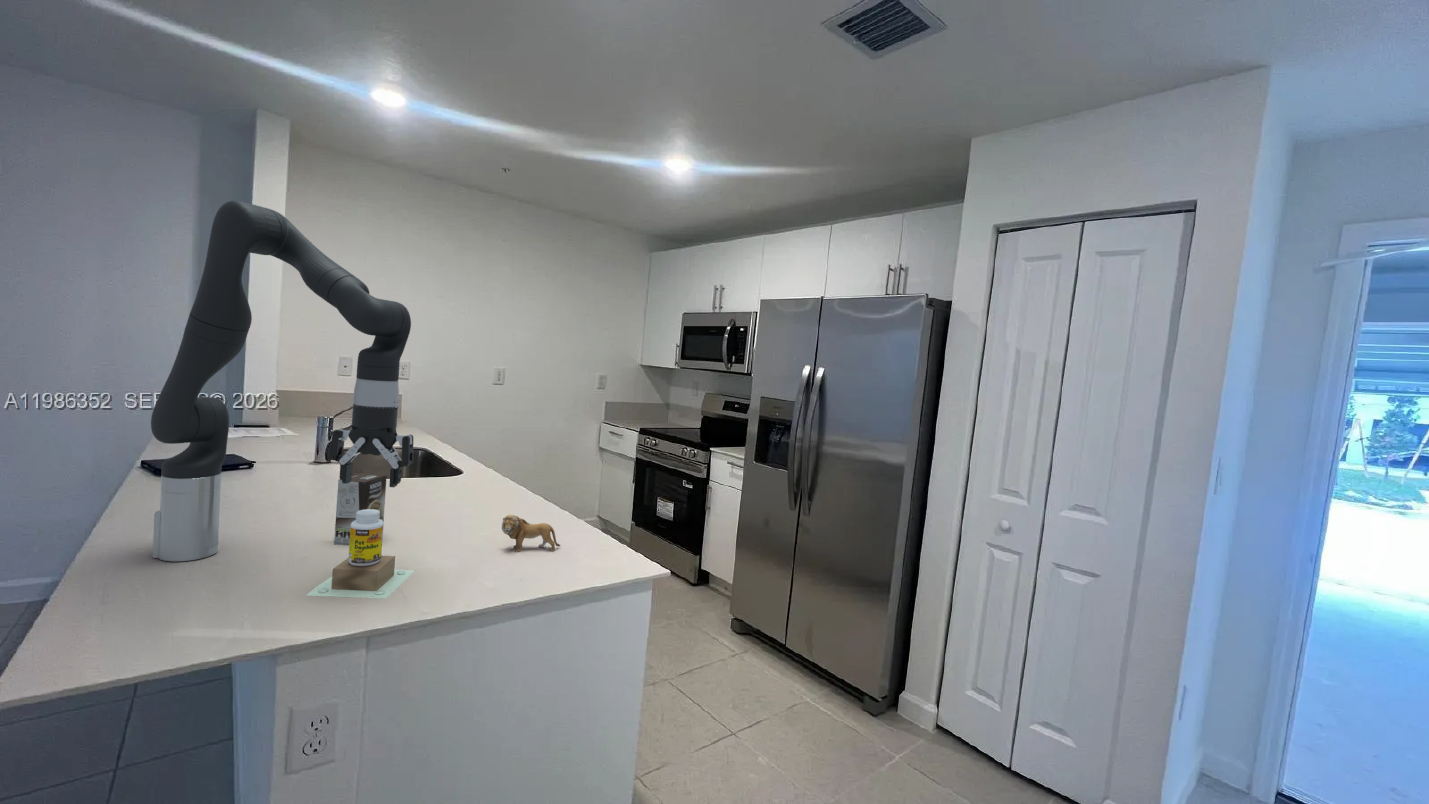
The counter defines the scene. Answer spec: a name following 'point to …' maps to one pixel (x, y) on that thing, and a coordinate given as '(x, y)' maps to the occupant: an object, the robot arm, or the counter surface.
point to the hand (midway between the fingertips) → (370, 484)
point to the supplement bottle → (366, 538)
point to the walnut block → (363, 575)
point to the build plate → (382, 592)
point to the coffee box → (358, 502)
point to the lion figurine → (527, 531)
